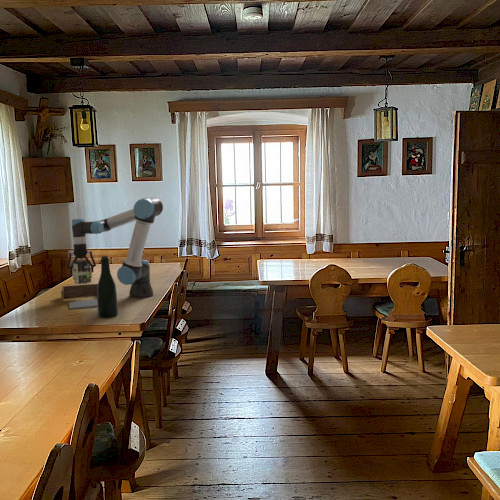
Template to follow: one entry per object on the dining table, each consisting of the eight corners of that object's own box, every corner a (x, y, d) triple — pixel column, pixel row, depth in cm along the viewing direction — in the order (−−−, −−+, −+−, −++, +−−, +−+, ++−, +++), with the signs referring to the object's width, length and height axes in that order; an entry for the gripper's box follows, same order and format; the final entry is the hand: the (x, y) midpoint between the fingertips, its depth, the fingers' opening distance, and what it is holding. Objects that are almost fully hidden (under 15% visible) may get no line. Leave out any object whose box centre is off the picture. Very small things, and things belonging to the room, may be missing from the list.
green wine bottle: (101, 313, 282) (98, 254, 278) (120, 313, 282) (117, 254, 278) (95, 318, 272) (91, 257, 268) (114, 318, 272) (111, 257, 267)
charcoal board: (98, 306, 297) (98, 305, 297) (69, 309, 292) (69, 307, 292) (97, 301, 312) (97, 299, 312) (69, 303, 307) (69, 301, 307)
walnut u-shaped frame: (104, 298, 318) (103, 287, 317) (61, 302, 310) (61, 291, 309) (103, 293, 332) (102, 283, 331) (62, 297, 324) (61, 286, 323)
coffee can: (94, 281, 323) (92, 259, 321) (86, 284, 313) (84, 262, 311) (79, 281, 325) (77, 259, 324) (71, 284, 315) (69, 262, 314)
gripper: (98, 241, 323) (100, 275, 326) (60, 244, 316) (63, 279, 319) (98, 242, 316) (101, 277, 319) (60, 245, 309) (63, 281, 312)
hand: (82, 278), depth 319 cm, fingers closed on coffee can, 10 cm apart
